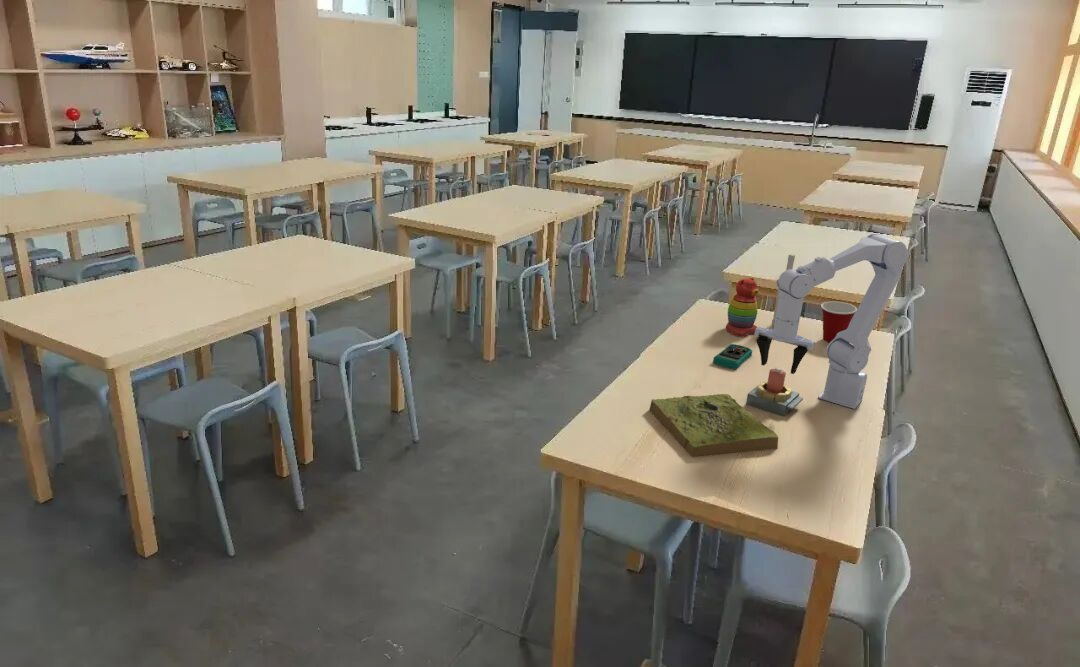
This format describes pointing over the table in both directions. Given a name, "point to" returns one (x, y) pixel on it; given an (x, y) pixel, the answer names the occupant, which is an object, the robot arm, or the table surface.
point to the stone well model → (773, 399)
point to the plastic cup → (836, 318)
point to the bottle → (789, 266)
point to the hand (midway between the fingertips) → (778, 368)
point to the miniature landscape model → (712, 425)
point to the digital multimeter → (732, 356)
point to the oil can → (776, 380)
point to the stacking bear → (743, 309)
